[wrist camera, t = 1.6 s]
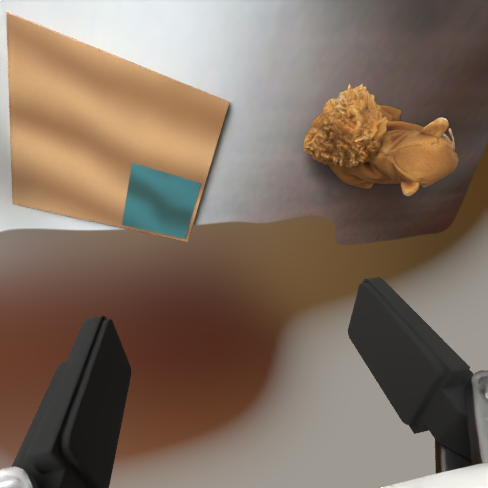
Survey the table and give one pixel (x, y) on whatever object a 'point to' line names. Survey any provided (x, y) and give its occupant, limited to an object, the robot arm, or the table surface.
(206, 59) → the table surface
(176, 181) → the desk mat
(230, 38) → the table surface
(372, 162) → the stuffed squirrel
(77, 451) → the robot arm
